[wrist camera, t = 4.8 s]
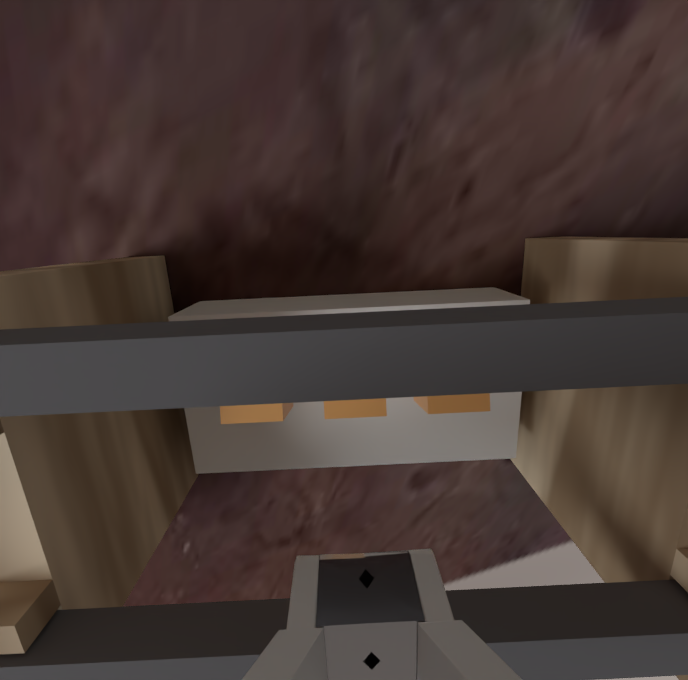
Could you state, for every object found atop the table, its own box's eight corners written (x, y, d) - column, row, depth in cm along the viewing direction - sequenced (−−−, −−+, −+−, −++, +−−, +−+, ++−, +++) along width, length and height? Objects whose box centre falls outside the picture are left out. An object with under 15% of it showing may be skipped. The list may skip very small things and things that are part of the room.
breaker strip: (494, 287, 20) (530, 299, 17) (485, 419, 23) (515, 458, 19) (200, 301, 20) (168, 316, 17) (219, 432, 23) (195, 473, 19)
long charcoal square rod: (839, 289, 9) (938, 300, 8) (818, 350, 10) (909, 372, 8) (-131, 335, 9) (-225, 356, 8) (-107, 395, 10) (-191, 426, 8)
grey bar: (748, 575, 12) (810, 627, 10) (735, 614, 12) (793, 669, 11) (-18, 613, 12) (-72, 671, 10) (-3, 651, 12) (-52, 711, 11)
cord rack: (563, 236, 20) (921, 241, 8) (539, 453, 23) (757, 691, 11) (126, 257, 20) (-212, 295, 8) (169, 471, 23) (-15, 731, 11)
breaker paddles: (464, 376, 17) (489, 385, 14) (465, 397, 17) (490, 411, 14) (240, 387, 17) (219, 398, 14) (241, 408, 17) (220, 424, 14)
